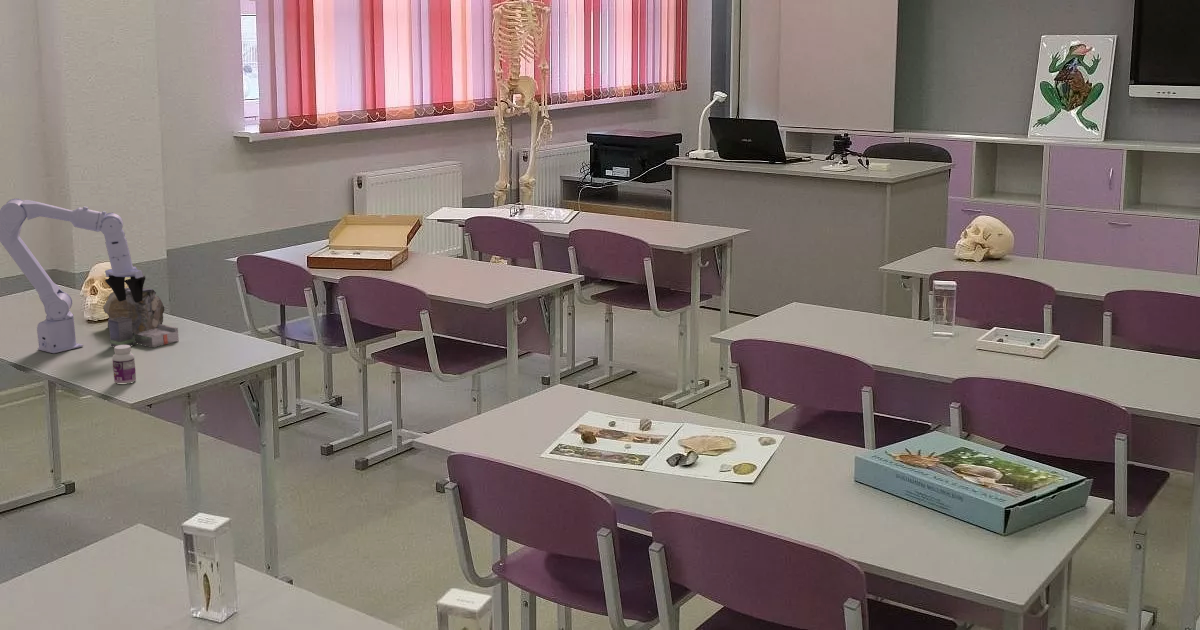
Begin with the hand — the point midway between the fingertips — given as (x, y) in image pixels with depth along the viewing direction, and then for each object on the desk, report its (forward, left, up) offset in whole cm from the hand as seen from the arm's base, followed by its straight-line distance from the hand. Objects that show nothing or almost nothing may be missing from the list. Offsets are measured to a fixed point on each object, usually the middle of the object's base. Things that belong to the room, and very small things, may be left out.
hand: (130, 301), depth 349 cm
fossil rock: (+11, +14, -13) cm, 22 cm away
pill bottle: (-26, -32, -13) cm, 43 cm away
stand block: (+4, -5, -13) cm, 14 cm away
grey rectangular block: (-4, 0, -13) cm, 13 cm away
